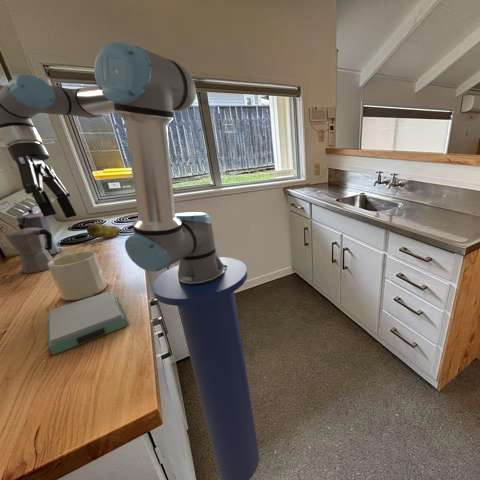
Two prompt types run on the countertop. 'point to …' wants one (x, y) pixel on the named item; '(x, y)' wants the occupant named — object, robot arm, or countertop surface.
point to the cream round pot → (77, 275)
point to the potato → (103, 231)
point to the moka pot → (38, 226)
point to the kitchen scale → (83, 321)
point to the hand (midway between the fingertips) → (62, 216)
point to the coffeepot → (31, 247)
